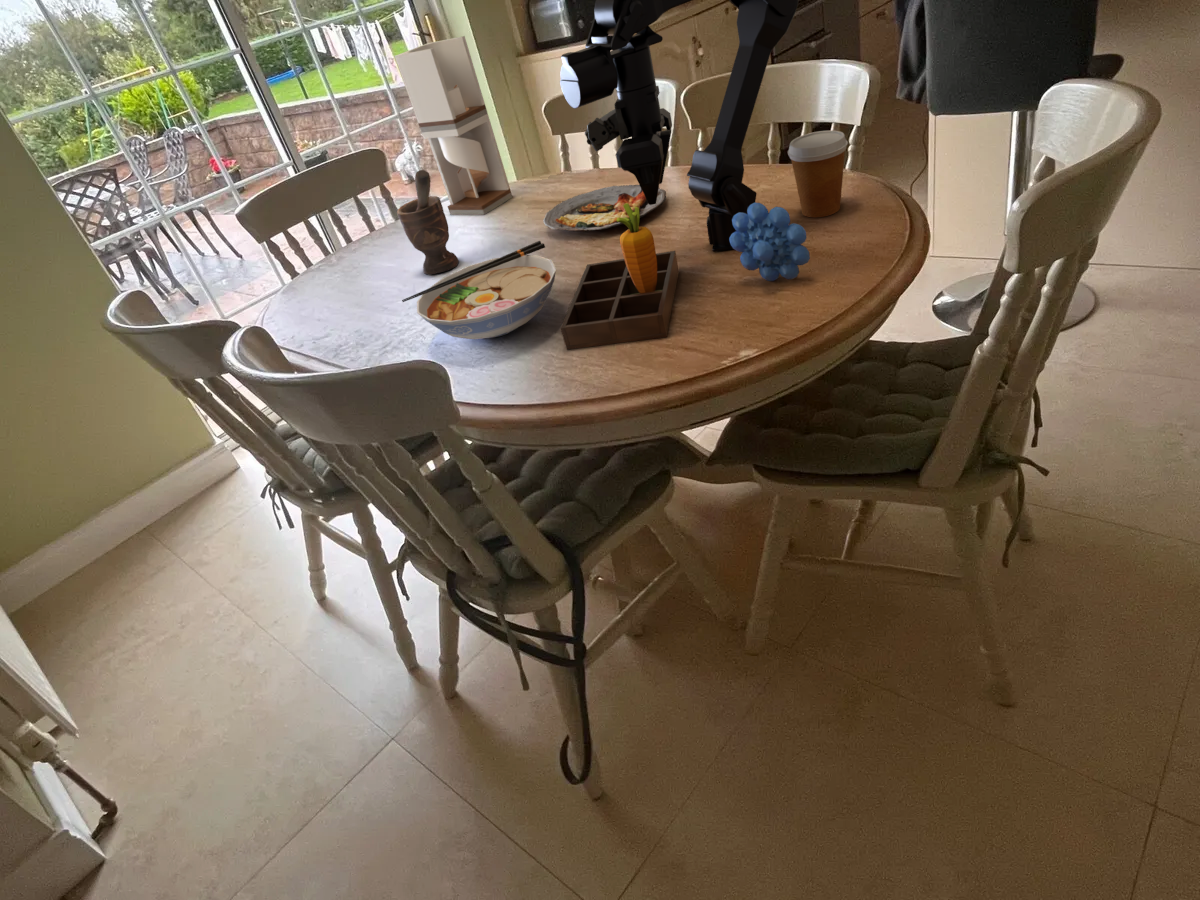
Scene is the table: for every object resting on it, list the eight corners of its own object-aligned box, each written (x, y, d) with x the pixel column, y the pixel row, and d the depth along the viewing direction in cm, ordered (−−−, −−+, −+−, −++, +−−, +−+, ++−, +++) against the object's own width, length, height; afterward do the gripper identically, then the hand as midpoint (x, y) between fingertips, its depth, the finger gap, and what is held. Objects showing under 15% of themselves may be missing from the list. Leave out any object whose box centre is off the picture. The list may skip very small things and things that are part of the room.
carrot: (663, 306, 111) (644, 208, 103) (631, 310, 112) (609, 214, 104) (667, 291, 115) (648, 196, 106) (635, 296, 116) (615, 202, 108)
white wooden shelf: (450, 214, 179) (394, 56, 159) (478, 197, 185) (428, 43, 165) (484, 214, 173) (430, 49, 153) (512, 197, 179) (464, 36, 159)
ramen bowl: (444, 384, 109) (424, 335, 104) (413, 332, 127) (395, 288, 122) (596, 321, 114) (583, 272, 110) (545, 279, 132) (532, 235, 128)
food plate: (686, 192, 152) (683, 175, 150) (631, 240, 138) (627, 222, 136) (586, 196, 166) (583, 180, 164) (526, 240, 152) (521, 223, 150)
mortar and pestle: (481, 258, 149) (447, 157, 138) (455, 278, 144) (417, 174, 132) (439, 258, 155) (403, 161, 144) (412, 277, 150) (373, 178, 138)
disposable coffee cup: (818, 225, 124) (813, 152, 117) (781, 215, 131) (775, 145, 124) (862, 205, 126) (860, 132, 119) (823, 196, 134) (819, 127, 127)
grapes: (725, 294, 111) (714, 216, 105) (740, 273, 116) (730, 198, 109) (803, 294, 106) (797, 212, 99) (815, 272, 110) (810, 193, 103)
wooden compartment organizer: (679, 271, 122) (675, 250, 120) (666, 337, 105) (662, 314, 103) (591, 284, 126) (586, 264, 124) (566, 349, 109) (560, 328, 107)
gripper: (592, 83, 116) (614, 183, 125) (569, 114, 101) (596, 224, 110) (663, 67, 113) (680, 170, 122) (649, 97, 98) (670, 212, 107)
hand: (655, 193), depth 115 cm, fingers open, 9 cm apart
